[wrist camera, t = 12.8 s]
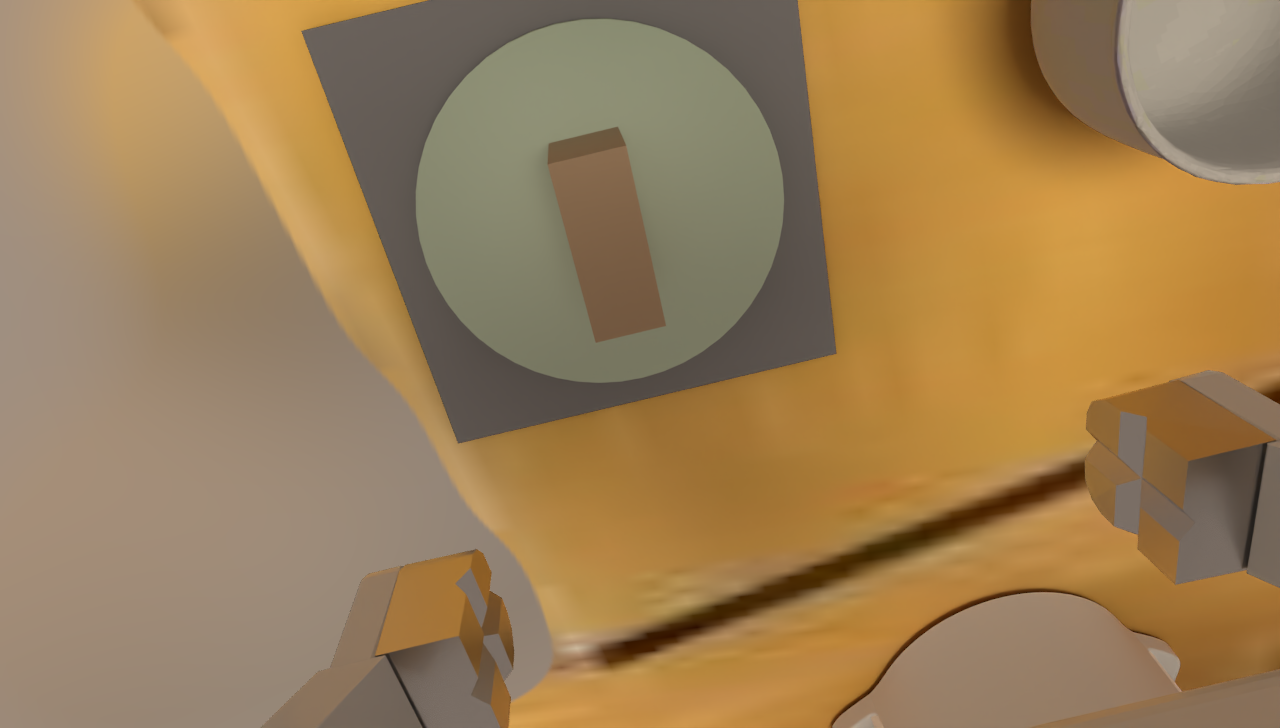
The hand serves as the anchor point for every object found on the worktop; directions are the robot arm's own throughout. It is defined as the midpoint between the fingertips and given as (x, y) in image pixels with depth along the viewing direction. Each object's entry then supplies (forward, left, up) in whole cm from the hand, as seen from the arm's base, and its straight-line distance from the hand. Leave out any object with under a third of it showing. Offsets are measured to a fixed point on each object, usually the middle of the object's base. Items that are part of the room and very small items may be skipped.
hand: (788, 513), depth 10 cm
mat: (-1, +2, -20) cm, 20 cm away
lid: (-1, +2, -20) cm, 20 cm away
